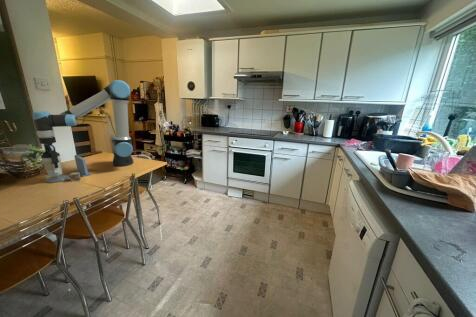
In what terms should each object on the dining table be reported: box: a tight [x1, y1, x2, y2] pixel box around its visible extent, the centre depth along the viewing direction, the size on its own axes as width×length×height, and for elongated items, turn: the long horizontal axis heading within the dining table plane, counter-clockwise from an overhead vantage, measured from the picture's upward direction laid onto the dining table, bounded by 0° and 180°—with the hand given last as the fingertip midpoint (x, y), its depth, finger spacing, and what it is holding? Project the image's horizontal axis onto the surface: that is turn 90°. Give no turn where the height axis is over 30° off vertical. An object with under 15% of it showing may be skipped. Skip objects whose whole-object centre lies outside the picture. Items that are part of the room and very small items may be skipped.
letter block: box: [69, 171, 82, 182], centre depth 132 cm, size 4×4×5 cm
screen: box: [73, 154, 92, 178], centre depth 141 cm, size 16×5×12 cm, turn 54°
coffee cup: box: [40, 151, 63, 177], centre depth 128 cm, size 9×9×15 cm
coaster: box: [45, 174, 70, 184], centre depth 132 cm, size 12×12×1 cm
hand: (55, 170), depth 130 cm, fingers closed on coffee cup, 9 cm apart
